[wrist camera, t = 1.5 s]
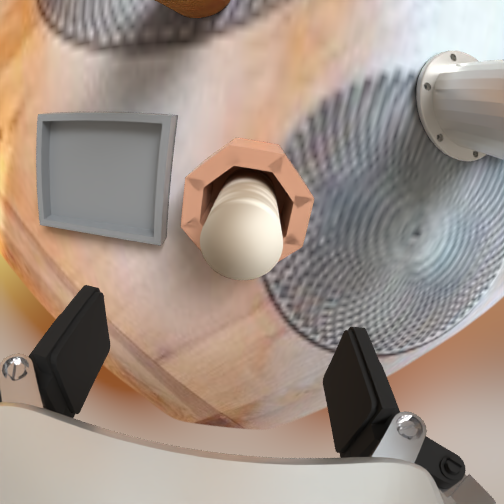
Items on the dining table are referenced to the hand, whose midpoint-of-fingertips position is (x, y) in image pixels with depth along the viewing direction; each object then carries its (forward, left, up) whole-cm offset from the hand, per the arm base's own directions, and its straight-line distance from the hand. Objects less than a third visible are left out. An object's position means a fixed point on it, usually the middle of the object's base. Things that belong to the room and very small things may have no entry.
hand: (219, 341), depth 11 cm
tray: (+16, 0, -21) cm, 26 cm away
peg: (0, 0, -20) cm, 20 cm away
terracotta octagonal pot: (0, 0, -21) cm, 21 cm away
